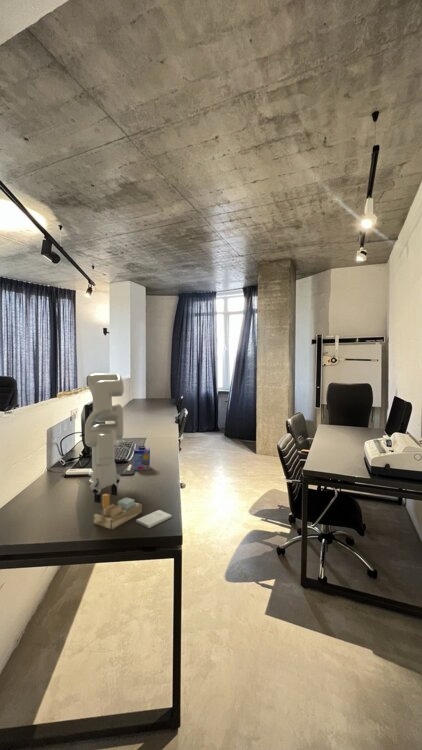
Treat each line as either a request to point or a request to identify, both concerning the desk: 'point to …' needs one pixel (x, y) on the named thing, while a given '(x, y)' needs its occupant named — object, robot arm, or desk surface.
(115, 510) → the plain block
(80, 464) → the desk surface
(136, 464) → the ink cartridge box
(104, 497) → the block
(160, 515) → the external hard drive
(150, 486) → the desk surface
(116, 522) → the shelf lanes
